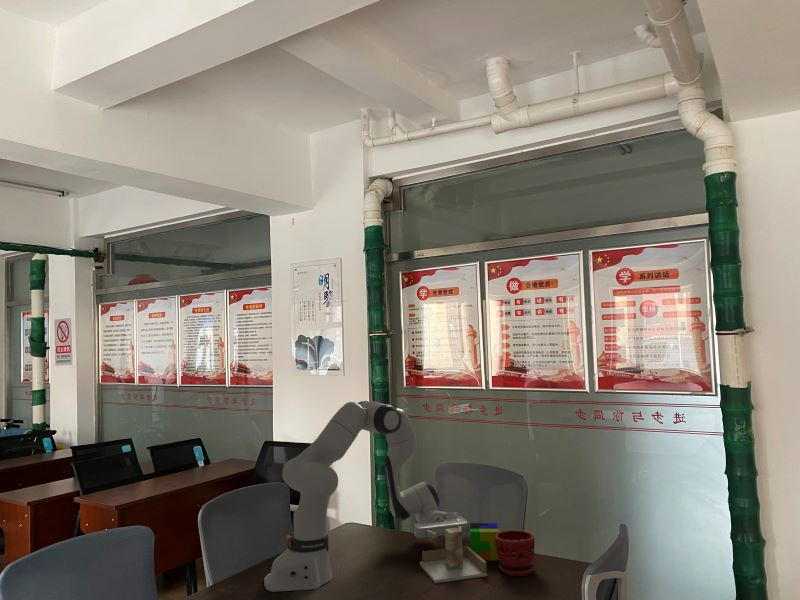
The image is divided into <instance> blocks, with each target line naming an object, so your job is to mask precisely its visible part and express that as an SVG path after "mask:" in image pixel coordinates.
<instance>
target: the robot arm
mask: <svg viewBox="0 0 800 600" xmlns="http://www.w3.org/2000/svg"><path fill="white" fill-rule="evenodd" d="M362 430H364V431H365V432H368V433H369V432H370V433H373V434H381V435H384V436H385V439H386V442H387V454H386V455H385V457H384V458H383V460H384V461H383V462H384V463H383V464H384V471H385V478H386V487H387V493H388V503H389V510H390V512H391V514H392V516H393V518H395V519H396V520H398V521H406V520H407V519H409V518H411V517H412V516H415V519H416V520H417V522H415V523H414V524H413V525H411V526H410V527H409V528H410V530H412V531H413V534H414V536H415V538H417V539H423V538H432V539H437V538H438V537H443V536H445V529H451V528H458V529H459V530H460V531H461V532H462V534H464V533H465V534H466V533H469V532H470V523H469V521H468V520H467V519H465V518H464V517H462V516H460V515H459V513H457V512H455V511H454V512H451V511H450V512H449V511H442V510H439V506H440V498H439V496H438V493H437V491H436V490H435V488H434V487H433V485H432V484H430V483H428V482H427V481H421V482H418V483H417V484H414V485H412V486H411V487H409V488H407V489H405V490H400V483H399V474H400V472H401V469H402V468H403V467H404V465H406V464H407V463H408V462H409V461H410V460H411V459H412V458H413V456H414V455H415V454H416V452H417V449H418V446H419V445H418V444H419V443H418V439H417V435H416V432H415V429H414V427H413V425H412V422H411V420H410V418H409V416H408V415H407V413H406V412H405V410H404V409H402V408H400V407H397V408H396V407H394V406H392V405H391V404H385V403H382V402H379V401H367V400H363V401H359V402H354V401H349V402H346V403H345V404H344V405H342V406H341V407H340V408H339V409H338V410H337V412H335V413H334V415H333V416H332V417H331V419H330V420H329V421H328V423H327V424H326V425H325V427H324V428H323V430H322V431H321V432H320V434H319V435H318V436H317V437H316V439H315V440H314V441H312V443H310V445H309V446H307V447H306V448H305V449H304V450H303V451H302V452H301V453H300V454H298V455H297V456H295V457H294V458H291V459H289V460H288V461H287V462H286V463H285V464H284V466H283V467H282V473H281V474H282V479H283V481H284V483H285V484H286V485H287V486H288V487H289V488H291V489H292V490H294V491H297V492H299V494H300V499H299V503H298V506H297V508H295V510H294V512H293V536H291V535H289V534H288V535H286V537H285V542H286V543H287V549H285V550H284V551H283V552H282V553H280V554H279V556H277V557H276V558H275V559H274V560H273V561H272V564H271V565H272V566H271V569H270V572H269V573H268V574H267V575H266V576H265V577H264V579H263V580H264V581H263V582H264V583H263V585H264V588H265V589H266V590H267V591H269V592H273V593H275V592H290V591H307V590H308V591H309V590H317V589H319V588H320V587H321V586H323V585H324V584H328V583H329V582H330V581H332V579H333V577H334V576H333V573H332V569H331V565H330V558H329V551H330V550H329V549H330V538H329V534H328V524H327V523H328V507H329V504H330V503H329V502H330V499H331V496H332V495H333V494H334V493H335V491H337V488H338V485H339V476H338V473H337V472H336V471H335V469H333V468H332V467H331V466H332V464H334V463H336V462H338V461H339V460H341V459H343V457H344V456H345V454H346V453H347V452H348V450H349V449H350V447H351V446H352V445H353V443H354V442H355V440H356V438H357V437H358V435H359V433H360V432H361V431H362Z"/></svg>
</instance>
